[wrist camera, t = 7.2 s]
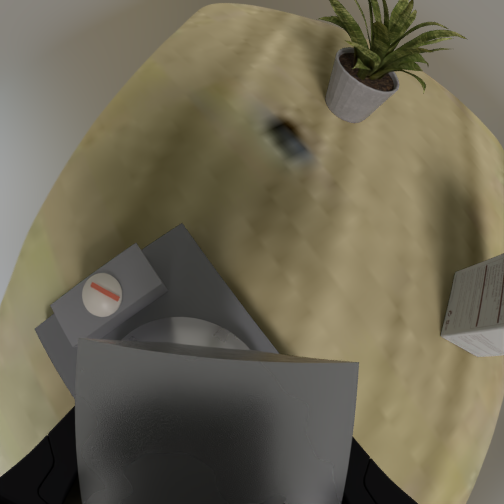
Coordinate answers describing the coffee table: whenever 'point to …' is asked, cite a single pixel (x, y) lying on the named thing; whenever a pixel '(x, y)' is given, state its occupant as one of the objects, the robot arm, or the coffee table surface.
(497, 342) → the supplement box
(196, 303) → the scale base
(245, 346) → the scale pan
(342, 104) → the house plant
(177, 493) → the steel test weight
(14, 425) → the coffee table surface
